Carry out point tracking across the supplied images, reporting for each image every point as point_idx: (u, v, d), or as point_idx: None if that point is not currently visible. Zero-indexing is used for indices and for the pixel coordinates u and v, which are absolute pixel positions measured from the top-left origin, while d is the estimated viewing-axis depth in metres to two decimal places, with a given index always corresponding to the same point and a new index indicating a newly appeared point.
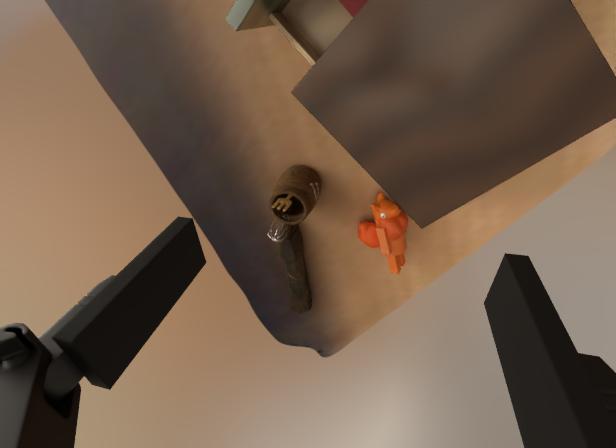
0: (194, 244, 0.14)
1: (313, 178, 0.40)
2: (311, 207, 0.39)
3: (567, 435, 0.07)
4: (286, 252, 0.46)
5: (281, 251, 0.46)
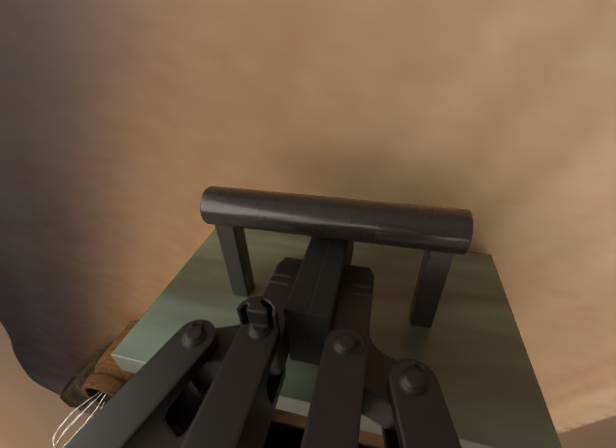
0: None
1: None
2: None
3: None
4: None
5: (78, 381, 0.35)
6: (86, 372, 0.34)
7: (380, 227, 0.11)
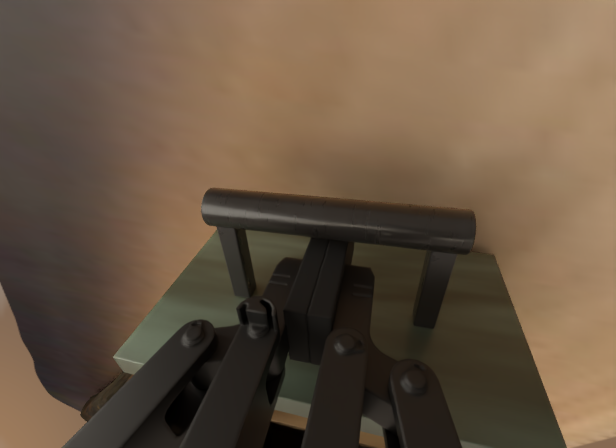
0: None
1: None
2: None
3: None
4: None
5: (101, 404, 0.38)
6: (108, 396, 0.37)
7: (382, 228, 0.11)
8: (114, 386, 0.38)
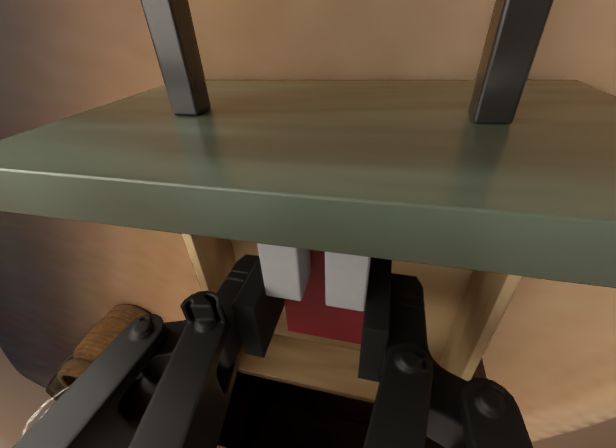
0: None
1: None
2: None
3: None
4: None
5: None
6: None
7: None
8: None
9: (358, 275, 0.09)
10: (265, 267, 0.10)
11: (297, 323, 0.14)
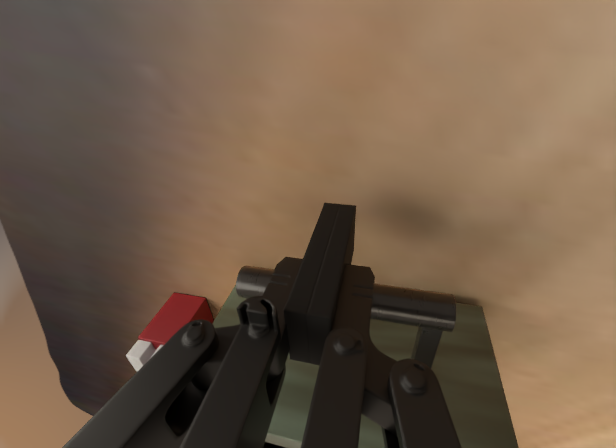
0: None
1: None
2: None
3: None
4: None
5: None
6: None
7: (382, 310, 0.13)
8: None
9: None
10: (133, 366, 0.25)
11: None
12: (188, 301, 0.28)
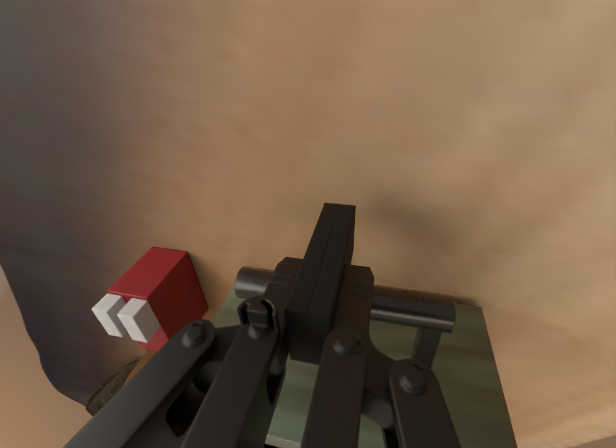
0: None
1: None
2: None
3: None
4: None
5: (105, 396, 0.38)
6: (113, 389, 0.36)
7: (381, 311, 0.13)
8: (118, 378, 0.38)
9: (135, 328, 0.21)
10: (101, 323, 0.21)
11: (144, 344, 0.25)
12: (167, 255, 0.25)
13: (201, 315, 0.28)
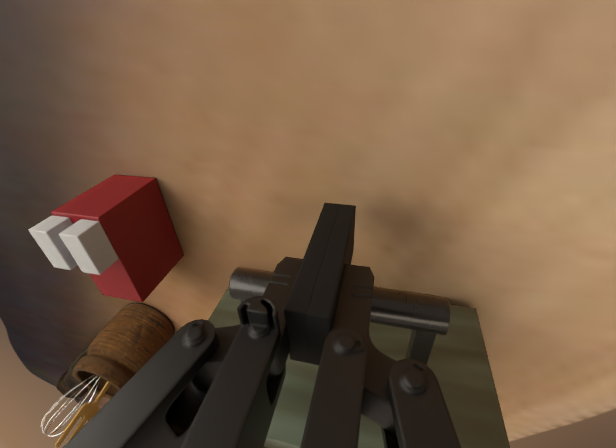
0: None
1: (163, 343, 0.30)
2: None
3: None
4: None
5: (72, 367, 0.34)
6: (80, 358, 0.32)
7: (376, 313, 0.13)
8: (88, 347, 0.34)
9: (83, 253, 0.17)
10: (43, 250, 0.17)
11: (104, 289, 0.21)
12: (131, 181, 0.21)
13: (174, 261, 0.24)
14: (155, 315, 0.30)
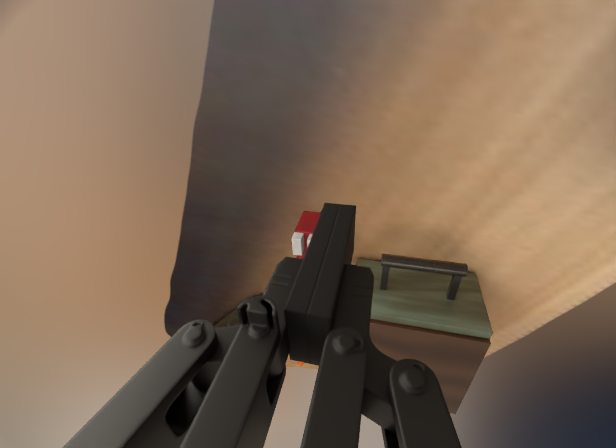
0: None
1: None
2: None
3: None
4: None
5: None
6: None
7: (440, 269, 0.37)
8: None
9: None
10: (293, 247, 0.41)
11: None
12: (315, 215, 0.44)
13: None
14: None
